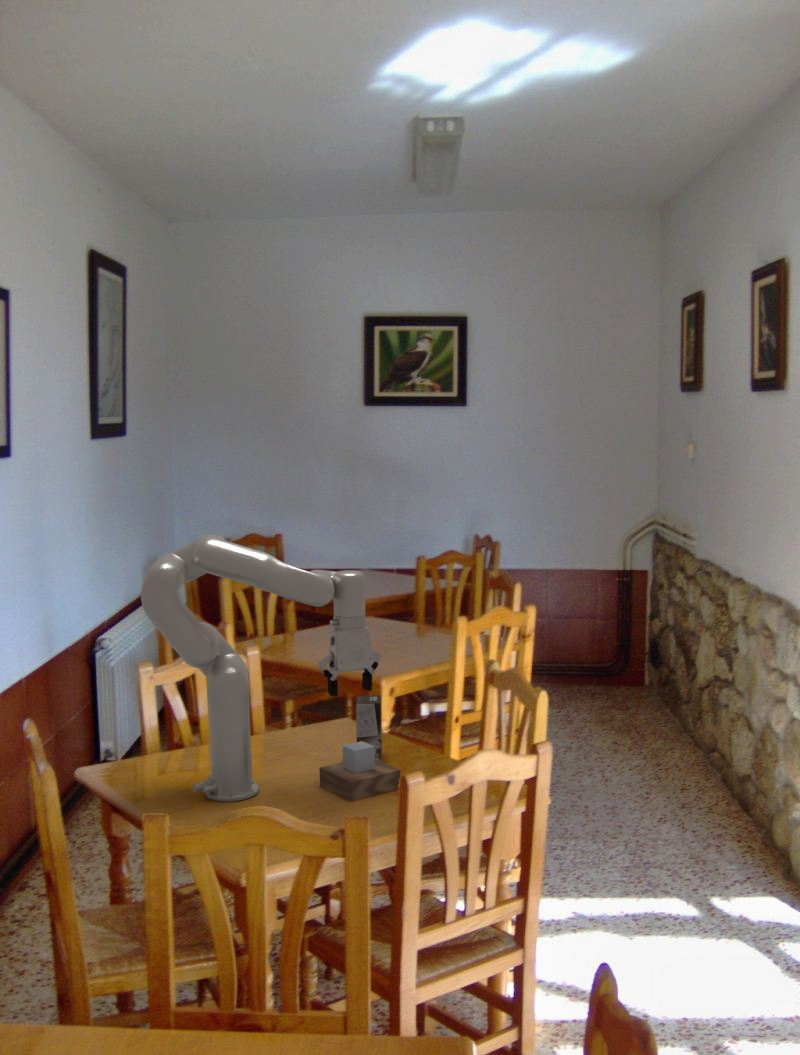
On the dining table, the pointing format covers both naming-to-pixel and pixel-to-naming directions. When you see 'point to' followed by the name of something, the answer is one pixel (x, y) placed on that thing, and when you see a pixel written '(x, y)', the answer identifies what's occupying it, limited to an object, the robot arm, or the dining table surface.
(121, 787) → the dining table surface
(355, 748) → the grey blue cube
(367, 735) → the coffee box
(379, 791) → the walnut block
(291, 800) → the dining table surface
